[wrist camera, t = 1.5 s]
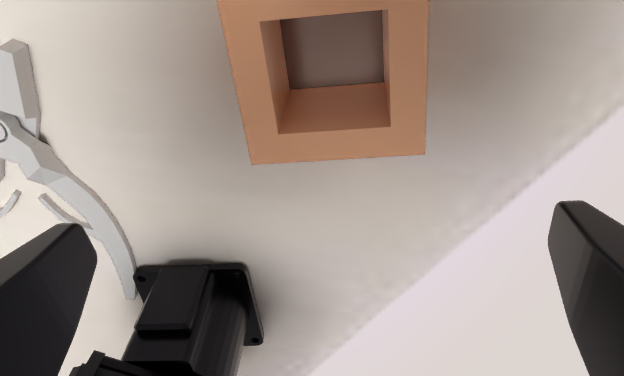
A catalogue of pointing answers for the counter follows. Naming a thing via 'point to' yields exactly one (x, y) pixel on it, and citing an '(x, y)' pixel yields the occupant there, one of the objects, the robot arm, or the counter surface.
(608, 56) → the counter surface
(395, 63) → the collar
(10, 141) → the pliers
